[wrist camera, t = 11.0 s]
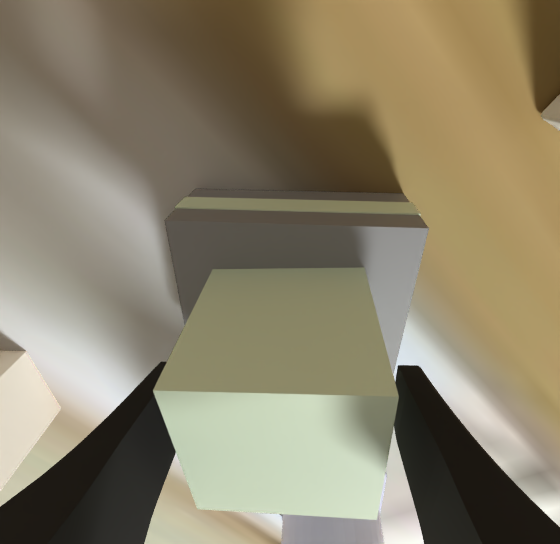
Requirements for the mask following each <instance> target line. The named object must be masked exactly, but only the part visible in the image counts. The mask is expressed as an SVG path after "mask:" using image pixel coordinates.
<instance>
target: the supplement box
mask: <svg viewBox="0 0 560 544" xmlns="http://www.w3.org/2000/svg"><path fill="white" fill-rule="evenodd" d="M541 117H542V119H543V120H545V121H547V122H548V123H550V124H551V125H552V126H554V127H555V128H556V129H558V130H559V131H560V94H559V95H558V96H557V97H556V98H555V99H554V101H553V102H552V103H551V104H550V105H549V106H548V107H547V108H546V109H545V110H544V111H543V112H542V113H541Z"/></svg>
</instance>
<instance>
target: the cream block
mask: <svg viewBox="0 0 560 544" xmlns="http://www.w3.org/2000/svg"><path fill="white" fill-rule="evenodd" d="M60 410H61V407H60V405H59V404H58V402H57V401H56V399H55V397H54V396H53V394H52V392H51V391H50V389H49V387H48V386H47V384H46V382H45V381H44V379H43V377H42V376H41V374H40V373H39V371H38V369H37V368H36V366H35V364H34V363H33V361H32V359H31V358H30V356H29V354H28V353H27V351H0V491H1V490H2V488H3V487H4V486H5V484H6V483H7V482H8V480H9V479H10V478H11V476H12V475H13V473H14V472H15V471H16V469H17V468H18V467H19V465H20V464H21V463H22V461H23V460H24V459H25V457H26V456H27V454H28V453H29V452H30V450H31V449H32V448H33V446H34V445H35V444H36V442H37V441H38V440H39V438H40V437H41V435H42V434H43V433H44V431H45V430H46V429H47V427H48V426H49V425H50V423H51V422H52V421H53V419H54V418H55V416H56V415H57V414H58V412H59V411H60Z"/></svg>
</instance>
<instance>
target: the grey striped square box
mask: <svg viewBox="0 0 560 544" xmlns="http://www.w3.org/2000/svg"><path fill="white" fill-rule="evenodd" d="M420 215H421V213H420V212H419V211H418V209H417V208H416V207H415V205H414V204H413V203H412V202H409V200H408V199H407V198H406V196H405V195H404V194H403V193H363V192H317V191H272V190H227V189H195V190H194V191H193V192H192V193H191V194H190V195H189V196H188V197H184V198H183V199H182V200H181V201H180V202H179V203H178V204H177V205H176V206H175V210H174V211H173V212H172V213H171V214H170V215H169V216H168V217H167V218H166V220H165V225H166V230H167V236H168V241H169V246H170V251H171V256H172V261H173V267H174V272H175V277H176V282H177V287H178V293H179V298H180V303H181V308H182V313H183V319H184V324H186V322H187V320H188V318H189V316H190V314H191V312H192V310H193V308H194V306H195V304H196V302H197V300H198V298H199V296H200V294H201V292H202V290H203V288H204V286H205V284H206V282H207V280H208V278H209V276H210V274H211V272H212V270H213V269H273V268H359V267H364V268H365V271H366V275H367V279H368V283H369V286H370V290H371V294H372V298H373V301H374V305H375V309H376V313H377V316H378V320H379V324H380V328H381V331H382V335H383V339H384V343H385V346H386V350H387V354H388V358H389V361H390V365H391V369H392V373H394V369H395V365H396V361H397V357H398V352H399V348H400V344H401V340H402V336H403V332H404V328H405V324H406V320H407V316H408V312H409V307H410V303H411V299H412V295H413V291H414V287H415V283H416V279H417V275H418V271H419V267H420V262H421V258H422V254H423V250H424V246H425V242H426V238H427V234H428V230H429V228H428V226H427V225H426V224H425V222H424V221H423V220H422V218H421V217H420Z"/></svg>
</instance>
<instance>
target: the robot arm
mask: <svg viewBox="0 0 560 544" xmlns="http://www.w3.org/2000/svg"><path fill="white" fill-rule="evenodd" d="M166 363H167V362H160V363H159V364H158V365H157V366H156V367H155V368H154V369H153V371H152V372H151V373H150V374H149V375H148V376H147V377H146V378H145V379H144V380H143V381H142V382H141V383H140V384H139V385H138V386H137V387H136V388H135V389H134V390H133V392H132V393H131V394H130V395H129V396H128V397H127V398H126V399H125V400H124V401H123V402H122V403H121V404H120V405H119V406H118V407H117V408H116V409H115V410H114V411H113V412H112V413H111V414H110V415H109V416H108V417H107V418H106V419H105V420H104V421H103V422H102V423H101V424H100V425H99V426H98V427H96V428H95V429H94V430H93V431H92V432H91V433H90V434H89V435H88V436H87V437H86V438H85V439H84V440H83V441H82V442H81V443H79V444H78V445H77V446H76V447H75V448H74V449H73V450H72V451H70V452H69V453H68V454H67V455H66V456H65V457H63V458H62V459H61V460H60V461H59V462H57V463H56V464H55V465H54V466H53V467H51V468H50V469H49V470H48V471H47V472H45V473H44V474H43V475H42V476H40V477H39V478H38V479H37V480H35V481H34V482H33V483H31V484H30V485H29V486H27V487H26V488H25V489H23V490H22V491H21V492H19V493H18V494H17V495H15V496H14V497H13V498H11V499H10V500H9V501H7V502H6V503H5V504H3V505H2V506H1V507H0V544H144V542H145V538H146V535H147V531H148V528H149V524H150V521H151V518H152V515H153V512H154V509H155V506H156V503H157V500H158V498H159V495H160V492H161V490H162V487H163V485H164V482H165V479H166V477H167V474H168V471H169V469H170V466H171V463H172V461H173V458H174V456H175V453H176V451H175V448H174V445H173V443H172V440H171V437H170V435H169V432H168V429H167V427H166V424H165V422H164V419H163V416H162V414H161V411H160V408H159V406H158V403H157V400H156V398H155V395H154V392H153V389H154V387H155V385H156V383H157V381H158V379H159V377H160V375H161V373H162V371H163V369H164V367H165V365H166ZM395 384H396V388H397V391H398V395H399V399H398V405H397V410H396V416H395V421H394V428H395V434H396V440H397V444H398V447H399V451H400V455H401V458H402V462H403V465H404V469H405V473H406V476H407V480H408V483H409V487H410V490H411V494H412V497H413V501H414V505H415V508H416V512H417V515H418V519H419V523H420V527H421V531H422V535H423V540H424V544H560V527H559V526H558V525H557V524H556V523H555V522H554V521H552V520H551V519H550V518H549V517H548V516H547V515H546V514H545V513H544V512H543V511H542V510H541V509H540V508H539V507H538V506H537V505H536V504H535V503H534V502H533V501H532V500H531V499H530V498H529V497H528V496H527V495H526V494H525V493H524V492H523V491H522V490H521V489H520V488H519V487H518V486H517V485H516V484H515V483H514V482H513V481H512V480H511V479H510V478H509V477H508V475H507V474H506V473H505V472H504V471H503V470H502V469H501V468H500V467H499V466H498V465H497V464H496V462H495V461H494V460H493V459H492V458H491V457H490V456H489V455H488V453H487V452H486V451H485V450H484V449H483V448H482V447H481V446H480V444H479V443H478V442H477V441H476V440H475V438H474V437H473V436H472V435H471V434H470V432H469V431H468V430H467V429H466V428H465V426H464V425H463V424H462V423H461V421H460V420H459V419H458V418H457V416H456V415H455V414H454V413H453V411H452V410H451V409H450V408H449V406H448V405H447V404H446V402H445V401H444V400H443V398H442V397H441V396H440V394H439V393H438V392H437V390H436V389H435V387H434V386H433V385H432V383H431V382H430V380H429V379H428V378H427V376H426V375H425V373H424V372H423V370H422V369H421V368H420V367H419V366H408V365H398V369H397V375H396V381H395ZM386 479H387V474H386V472H385V477H384V483H383V488H382V494H381V500H380V505H379V511H378V516H377V520H369V519H353V518H336V517H320V516H303V515H287V514H282V520H283V525H282V541H281V544H384V539H383V532H382V526H381V519H380V512H381V506H382V501H383V495H384V490H385V484H386Z"/></svg>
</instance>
